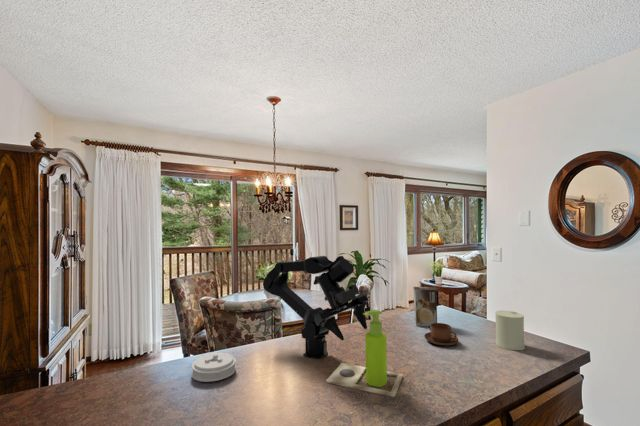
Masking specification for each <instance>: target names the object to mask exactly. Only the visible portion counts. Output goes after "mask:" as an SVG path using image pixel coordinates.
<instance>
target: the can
mask: <svg viewBox="0 0 640 426" xmlns="http://www.w3.org/2000/svg"><path fill="white" fill-rule="evenodd" d="M494 314H495V344H496V345H497V346H498V347H499V348H502V349H506V350H508V351H509V350H510V351H523V350H525V348H526V347H525V319H524V318H525V316H524V314H522V313H520V312H517V311H512V310H496V311H495V312H494Z"/></svg>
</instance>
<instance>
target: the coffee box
mask: <svg viewBox="0 0 640 426" xmlns="http://www.w3.org/2000/svg"><path fill="white" fill-rule="evenodd" d="M437 299H438V298H437V289H436V288H435V287H433V286H413V314H414V315H413V316H414V318H413V319H414V320H413V321H414V324H415V326H416V327H429V326H431V324H433V323H438V303H437V302H438V300H437Z"/></svg>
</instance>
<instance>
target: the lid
mask: <svg viewBox="0 0 640 426" xmlns="http://www.w3.org/2000/svg"><path fill="white" fill-rule="evenodd" d="M236 359H237V358H236V357H235V356H233V355H232V354H231V353H227V352H212V353H207V354H204V355H202V356H200V357H199V356H198V358H197V359H195V360H194V361H193V362H192V364H191V370H192V371H191V378H192V379H194V380H195V381H198V382H206V383H207V382H216V381H220V380H223V379H226V378H229V377H230V376H232V375H234V373H235V372H236V369H237V366H236V362H237V360H236Z"/></svg>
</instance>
